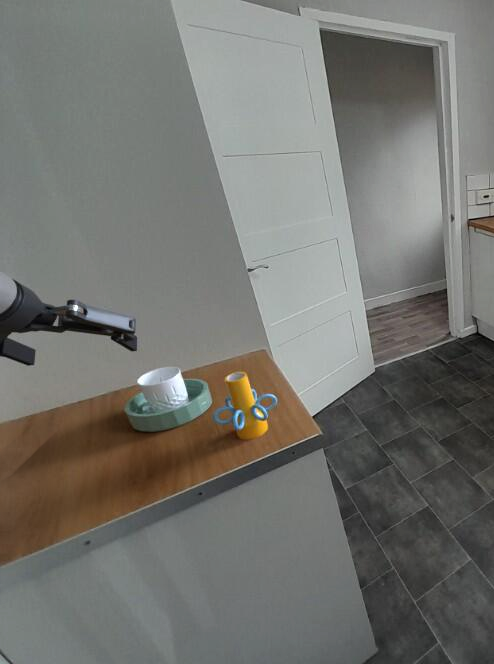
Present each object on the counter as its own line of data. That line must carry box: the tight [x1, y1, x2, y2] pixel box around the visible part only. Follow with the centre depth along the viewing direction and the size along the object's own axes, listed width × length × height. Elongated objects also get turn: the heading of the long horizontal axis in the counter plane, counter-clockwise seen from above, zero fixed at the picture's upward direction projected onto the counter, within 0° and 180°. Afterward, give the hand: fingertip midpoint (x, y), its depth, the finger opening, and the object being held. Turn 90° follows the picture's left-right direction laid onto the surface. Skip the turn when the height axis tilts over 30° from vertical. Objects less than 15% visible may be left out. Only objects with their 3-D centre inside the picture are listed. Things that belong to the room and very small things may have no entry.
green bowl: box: [123, 378, 213, 433], centre depth 98 cm, size 16×16×5 cm
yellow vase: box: [212, 371, 278, 441], centre depth 90 cm, size 12×10×15 cm
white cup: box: [136, 366, 190, 413], centre depth 97 cm, size 8×8×10 cm
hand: (85, 350), depth 71 cm, fingers open, 13 cm apart
